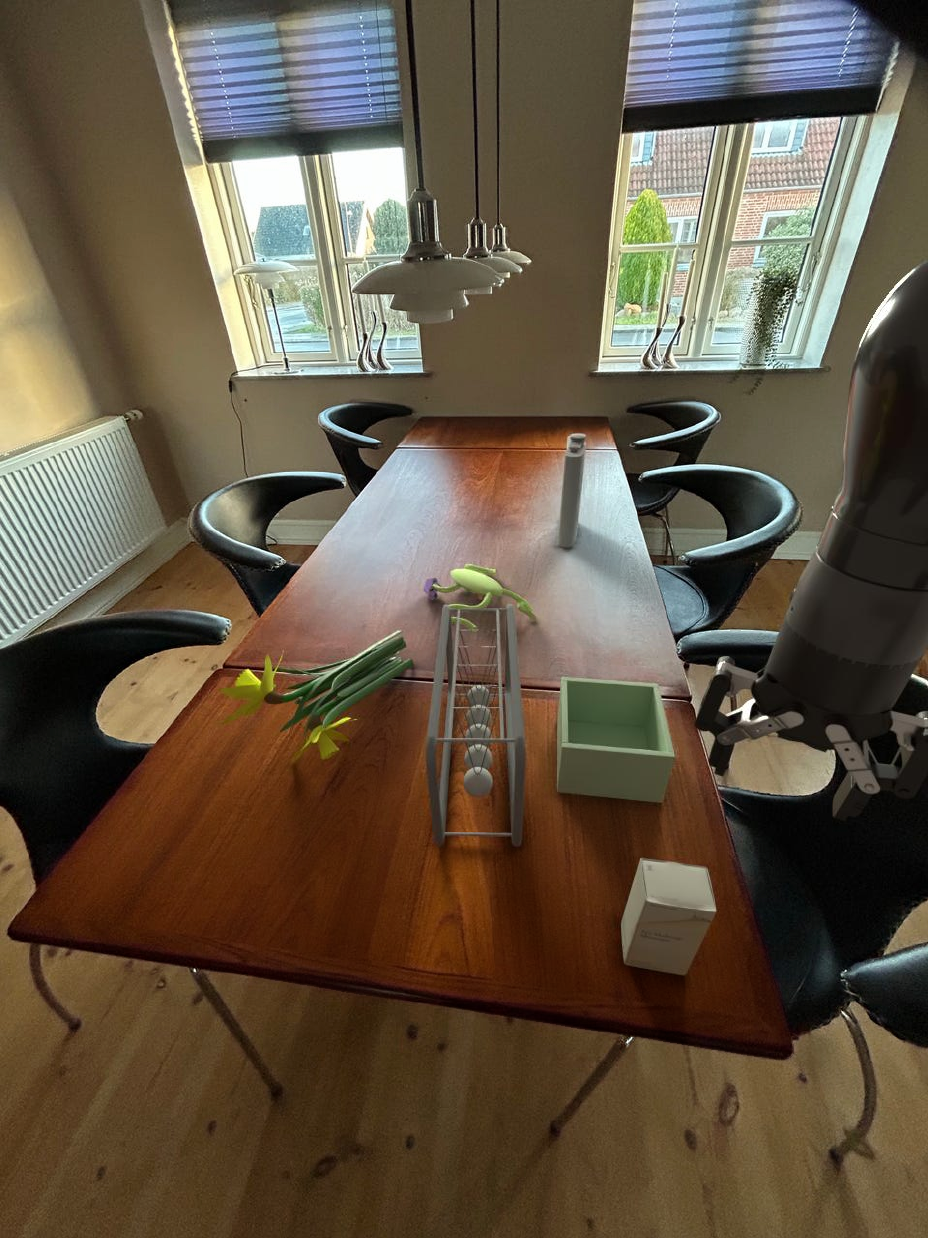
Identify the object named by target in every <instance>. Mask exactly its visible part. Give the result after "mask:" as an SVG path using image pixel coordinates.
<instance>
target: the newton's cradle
mask: <svg viewBox="0 0 928 1238" xmlns="http://www.w3.org/2000/svg"><path fill="white" fill-rule="evenodd" d="M449 605H450V604H444V605H443V606H442V611H441V618H440V625H439V635H438V642H437V643H438V644H437V652H436V660H435V668H434V676H433V684H432V692H431V701H430V708H429V716H428V724H427V734H426V735H427V736H426V741H425V768H426V775H427V776H426V777H427V786H428V796H429V805H430V812H431V813H430V815H431V825H432V834H433V842H434V844H435V845H436V846H438V847H441V846H443V845H444V843H445V838H446V837H511V844H512V847H515V848H519V847H521V845H522V842H523V841H522V840H523V821H524V805H525V803H524V801H525V788H526V787H525V784H526V764H527V750H526V749H527V748H526V734H525V733H526V732H525V722H524V721H525V720H524V711H523V710H524V709H523V700H522V699H523V698H522V686H521V674H520V661H519V650H518V639H517V628H516V616H515V606H514V605H513V604H512V603H508V604H506V607H505V608H484V609H451V608H450V606H449ZM469 611H476V612H495V613H496V616H495V617H496V629H494V633H493V636H492V639H491V640H492V641H491V644H490V646H489V645H487V646H485V645H484V646H482V648H489V654H488V657H487V662H486V664H471V661H470V658H469V654H468V651H467V646H466V645H465V641H464V640H465V639H464V636H463V634H462V632H463V631H466V632H467V629H460V625H461V624H460V618H461V612H462V613H463V612H464V613H465V612H469ZM452 612H455V613H456V612H457V616H456V617H457V624H456V628H455V629H456V630H455V642H453V641H454V640H453V623H452V619H451V617H452ZM500 612H505V633H504V634H505V640H504V641H505V642H504V693H503V676H502V674H503V673H502V649H501V628H500V627H501V625H500ZM459 637H461V640H462V644H463V648H464V651H465V655H466V658H467V662H468V664H465V660H464V657H463V654H462V651H461V646H459V639H460V638H459ZM495 637H496V643H497V646H493V645H494V641H495ZM492 648H494V652H493V655H492V660H491V664H489V661H490V657H491V654H492V653H491V652H492ZM458 651H459V654H460V658H461V661H462V664H458ZM496 651H497V664H493V663H494V659H495V655H496ZM445 664H446V672H447V700H446V711H445V721H444V723H445V724H444V735H443V737H440V738H439V737H438V735H439V727H440V726H439V725H440V717H441V716H440V715H441V706H442V697H443V687H444V686H443V685H444V677H445V676H444V675H445ZM462 666H463V668H464V672H465V675H466V679H467V682H468V683H467V684H465V683H464V680H463V676H462V672H461V670H460V667H462ZM466 666H468V667H469V669H470V672H471V676H472V680H473V683H474V684H471V683H470V679H469V675H468V671H467V668H466ZM473 666H474V667H475V666H477V667H478V666H479V667H480V666H481V667H485V670H484V674H483V677H482V683H481V684H477V683H476V680H475V676H474V672H473V669H472V667H473ZM488 666H489V672H488V676H487V680H486V683H485V684H484V682H485V677H486V674H487V669H488ZM494 666H495V667H494ZM493 667H494V672H493V675H492V679H491V682H490V684H489V680H490V676H491V671H492V668H493ZM457 670H458V674H459V677H460V680H461V684H456V681H457V680H456V679H457ZM496 672H498V673H497V674H498V675H497V676H498V677H497V678H498V684H494V680H495V676H496ZM458 687H463V690H464V693H460V691H459V688H458ZM466 687H469V690H468V692H467V690H466ZM488 687H489V689H488ZM493 687H495V689H494V693H491V691H492V688H493ZM497 690H498V693H497ZM456 691H457V693H456ZM455 697H458V698H459V701H460V704H461V707H459V706H456V707H455ZM462 697H463V698H465V697H466V702H467V705H468V706H466V707H465V706H464V705H463V701H462ZM492 697H493V698H492ZM496 697H497V698H498V705H499V706H498V707H496V706H495V707H493V706H494V702H495V698H496ZM503 698H504V700H503ZM489 706H490V707H489ZM504 707H505V708H504ZM457 709H462V711H463V714H464V718H465V721H466V724H467V730H466V732H465V733H464V730H463V726H462V724H461V720H460V717H459V713H458V711H457ZM465 709H468V710H467V712H466V710H465ZM493 709H495V715H494V718H493V717H492V710H493ZM504 709H505V722H504ZM498 710H499V730H500V732H499V733H500V738H493V730H494V726H495V724H496V723H495V722H496V719H497V715H498ZM454 711H455V715H456V718H457V721H458V725H459V728H460V730H461V734H462V737H463V738H459V737H458V738H457V737H456V738H452V737H453V725H454ZM492 718H493V722H492ZM491 723H492V725H491ZM504 723H505V724H504ZM490 726H491V729H489V727H490ZM504 726H505V727H504ZM505 729H506V730H505ZM505 731H506V738H505ZM438 743H443V746H442V760H441V770H440V781H439V773H438V772H439V771H438V758H437V757H438V756H437V753H438V752H437V751H438V750H437V749H438ZM452 743H465V747H466V751H465V753H464V758H463V759H464V764H465V766H466V768H467V769H468V770H467V771H466V772H465V775H464V777H463V781H462V782H463V787H464V790H465V792H466V793H467V794H468V795H469V796H471V797H473V798H483V797H485V796H487V795H488V794H489V793H490V792H491V790H492V788H493V784H494V783H493V776H492V774H491V773H490V772H489V771H488V770H489V769H490V768H491V766H492V764H493V755H492V752H491V749H489V747H490V746H491V744H492V743H506V749H507V752H506V753H507V772H508V792H509V793H508V794H509V814H510V832H460V831H459V832H458V831H457V832H452V831H450V832H449V831H447V832H446V823H447V810H448V809H447V808H448V798H449V797H448V796H449V795H448V794H449V782H450V781H449V780H450V768H451V755H452V754H451V752H452Z"/></svg>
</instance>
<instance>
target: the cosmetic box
mask: <svg viewBox="0 0 928 1238" xmlns="http://www.w3.org/2000/svg"><path fill="white" fill-rule="evenodd" d="M627 899H628V900H627V902H626V905H625V908H624V912H623V914H622V919H621V922H620V927H621V928H620V929H621V930H620V931H621V945H622V947H621V948H622V957H623V964H624V965H625V966H629V967H633V968H634V967H635V968H639V969H645V970H650V971H657V972H662V973H668V974H673V975H679V976H686V975H687V974H688V972H689V969H690V967H691V965H692V963H693V962H694V959H695V956H696V955H697V953H698V951H699V949H700V946H701V944H702V942H703V941H704V938H705V936H706V934H707V932H708V930H709V928H710V927H711V923H712V921H713V919H714V918H715V916H716V914H717V907H716V901H715V895H714V891H713V886H712V881H711V877H710V872H709V869H708V868H707V867H706V866H703V865H702V866H701V865H695V864H689V863H682V862H677V861H676V862H675V861H668V860H660V859H653V858H652V859H651V858H644V857H641V858H640V859H639V862H638V866H637V869H636V872H635V876H634V879H633V882H632V886H631V889H630V892H629V895H628V898H627Z"/></svg>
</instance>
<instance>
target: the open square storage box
mask: <svg viewBox="0 0 928 1238" xmlns="http://www.w3.org/2000/svg"><path fill="white" fill-rule="evenodd" d="M556 721H557V723H556V762H557V763H556V792H557V793H561V794H570V795H581V796H590V797H601V798H611V799H618V800H619V799H621V800H630V801H639V802H648V803H649V802H650V803H660V804H662V803H663V802H664V798H665V794H666V793H667V792H666V791H667V788H668V784H669V781H670V778H671V773H672V771H673V767H674V764H675V760H676V755H675V750H674V745H673V742H672V736H671V733H670V729H669V724H668V719H667V716H666V712H665V708H664V702H663V699H662V694H661V690H660V685H659V683H652V682H638V681H625V680H624V681H623V680H612V679H611V680H610V679H597V678H584V677H583V678H582V677H570V676H569V677H567V676H561V678H560V688H559V699H558V708H557V718H556Z"/></svg>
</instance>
